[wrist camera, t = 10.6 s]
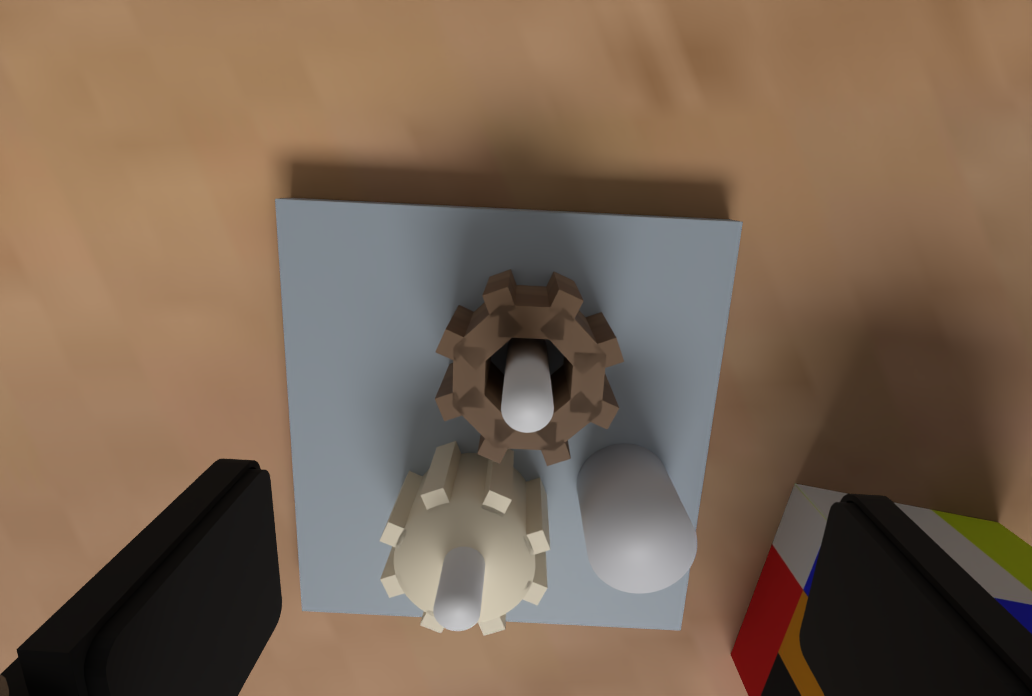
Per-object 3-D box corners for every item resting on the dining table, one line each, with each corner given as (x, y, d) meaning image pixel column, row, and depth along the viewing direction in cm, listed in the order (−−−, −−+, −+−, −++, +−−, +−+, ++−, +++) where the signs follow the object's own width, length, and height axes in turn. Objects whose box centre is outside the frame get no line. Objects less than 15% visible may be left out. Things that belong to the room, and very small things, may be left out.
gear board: (290, 197, 24) (177, 206, 16) (729, 219, 24) (826, 238, 16) (313, 589, 29) (236, 736, 21) (673, 608, 29) (725, 761, 21)
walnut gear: (450, 266, 23) (435, 283, 19) (613, 274, 23) (631, 292, 19) (448, 417, 25) (434, 460, 21) (599, 424, 25) (613, 469, 21)
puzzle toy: (794, 482, 27) (940, 648, 18) (997, 521, 28) (1250, 704, 18) (730, 653, 30) (827, 877, 20) (916, 686, 30) (1097, 922, 21)
